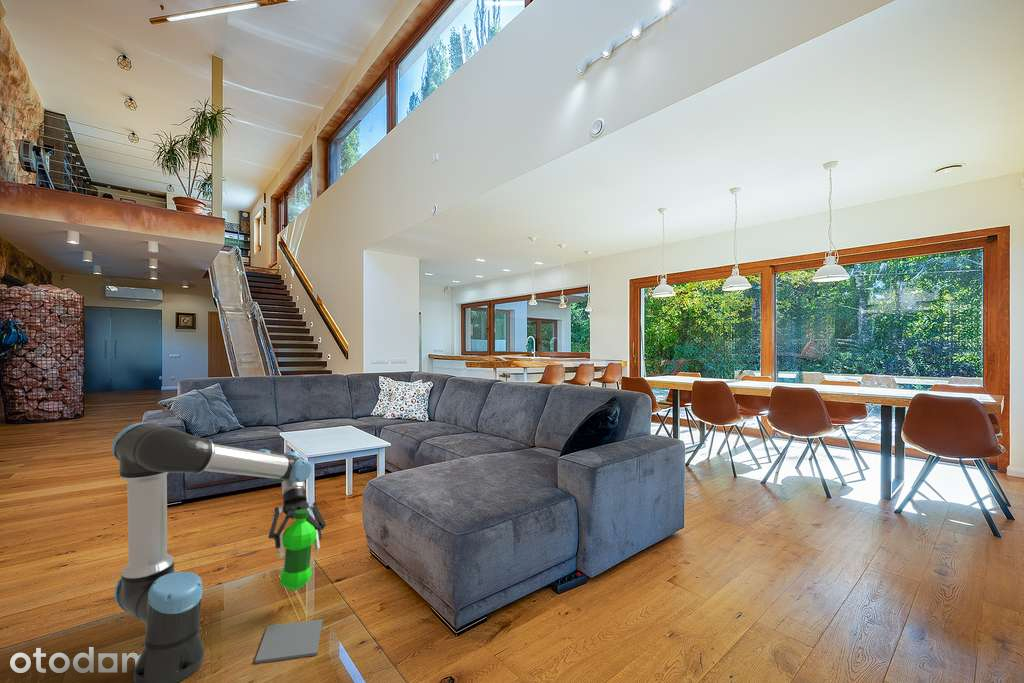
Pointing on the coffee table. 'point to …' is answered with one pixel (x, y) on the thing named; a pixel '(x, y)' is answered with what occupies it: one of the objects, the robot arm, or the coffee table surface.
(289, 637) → the rubber coaster
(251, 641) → the coffee table surface
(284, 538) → the plastic bottle
